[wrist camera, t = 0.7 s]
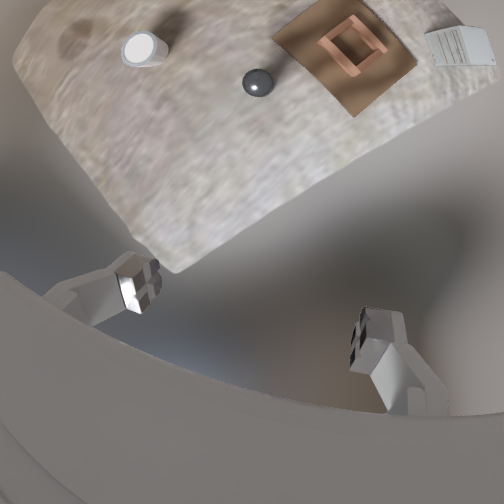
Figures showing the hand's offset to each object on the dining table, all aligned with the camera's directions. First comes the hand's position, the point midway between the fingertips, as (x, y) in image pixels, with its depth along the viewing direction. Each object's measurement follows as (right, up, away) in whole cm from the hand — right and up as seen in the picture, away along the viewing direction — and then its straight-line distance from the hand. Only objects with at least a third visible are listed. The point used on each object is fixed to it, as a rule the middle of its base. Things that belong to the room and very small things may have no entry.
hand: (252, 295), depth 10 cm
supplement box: (+37, +41, +21) cm, 59 cm away
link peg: (+2, +30, +31) cm, 43 cm away
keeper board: (+17, +37, +25) cm, 48 cm away
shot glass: (-18, +38, +27) cm, 50 cm away
